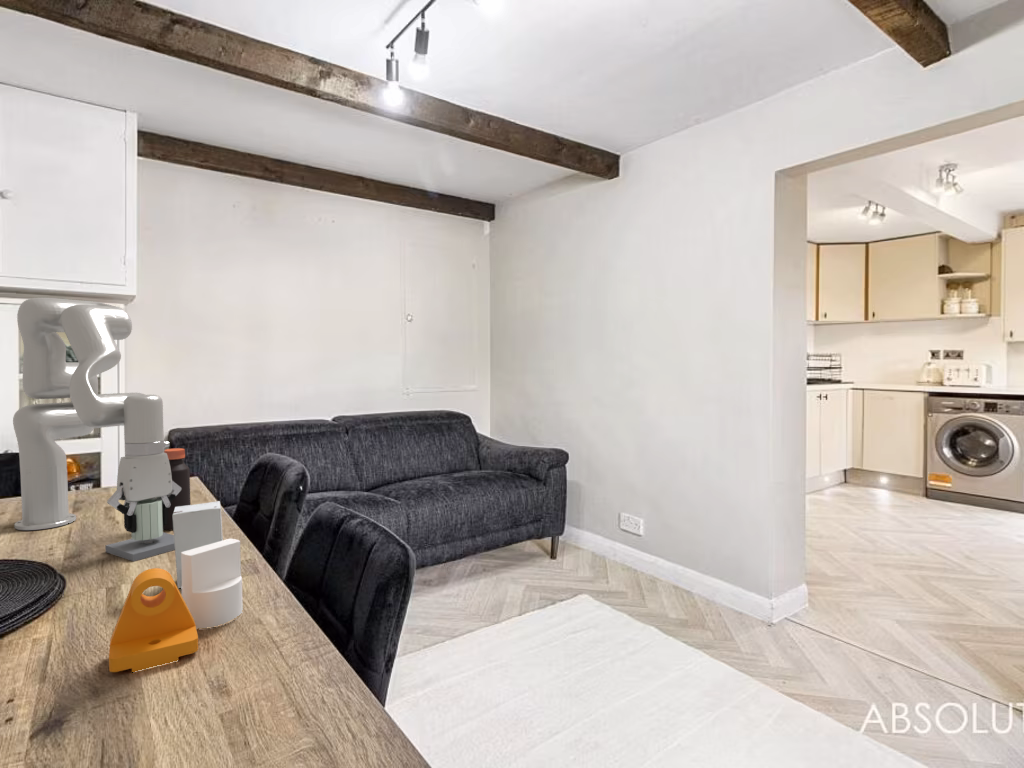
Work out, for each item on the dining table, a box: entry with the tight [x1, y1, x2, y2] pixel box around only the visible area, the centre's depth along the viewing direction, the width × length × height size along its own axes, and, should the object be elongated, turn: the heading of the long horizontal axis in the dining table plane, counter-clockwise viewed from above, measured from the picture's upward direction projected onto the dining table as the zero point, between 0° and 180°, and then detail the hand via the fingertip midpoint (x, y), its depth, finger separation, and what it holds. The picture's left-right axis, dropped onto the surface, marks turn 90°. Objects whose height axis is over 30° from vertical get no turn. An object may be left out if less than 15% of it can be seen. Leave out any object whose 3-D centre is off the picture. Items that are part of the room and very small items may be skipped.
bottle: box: [163, 447, 192, 531], centre depth 149 cm, size 7×7×20 cm
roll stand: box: [104, 531, 175, 562], centre depth 132 cm, size 12×12×8 cm
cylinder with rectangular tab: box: [180, 538, 244, 628], centre depth 97 cm, size 9×9×12 cm
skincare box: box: [172, 500, 224, 590], centre depth 112 cm, size 8×6×15 cm
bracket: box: [108, 567, 199, 673], centre depth 84 cm, size 11×7×12 cm, turn 123°
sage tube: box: [130, 498, 164, 540], centre depth 132 cm, size 6×6×8 cm
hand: (147, 527), depth 132 cm, fingers closed on sage tube, 6 cm apart
